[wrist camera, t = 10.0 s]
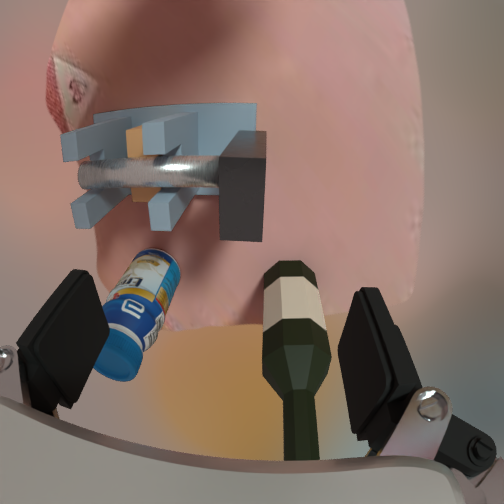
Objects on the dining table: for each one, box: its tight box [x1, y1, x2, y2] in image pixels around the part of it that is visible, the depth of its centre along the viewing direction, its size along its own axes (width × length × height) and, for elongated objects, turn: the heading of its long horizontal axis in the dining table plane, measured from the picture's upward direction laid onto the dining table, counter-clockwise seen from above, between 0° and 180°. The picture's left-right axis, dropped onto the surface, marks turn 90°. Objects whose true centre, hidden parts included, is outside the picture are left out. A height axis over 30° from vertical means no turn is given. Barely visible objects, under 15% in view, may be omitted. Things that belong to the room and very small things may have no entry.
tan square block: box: [126, 125, 163, 202], centre depth 32 cm, size 4×8×8 cm, turn 178°
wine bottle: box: [262, 261, 331, 461], centre depth 33 cm, size 8×8×30 cm
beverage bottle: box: [93, 248, 181, 382], centre depth 37 cm, size 8×8×20 cm
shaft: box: [78, 130, 266, 242], centre depth 26 cm, size 18×6×14 cm, turn 88°
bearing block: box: [61, 103, 257, 231], centre depth 30 cm, size 22×12×14 cm, turn 88°
